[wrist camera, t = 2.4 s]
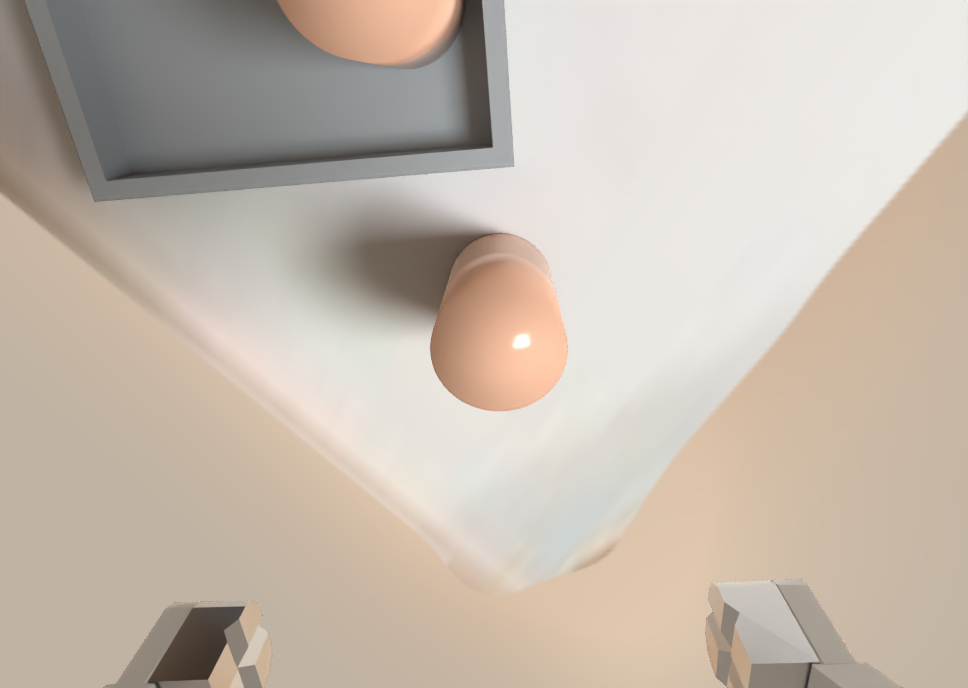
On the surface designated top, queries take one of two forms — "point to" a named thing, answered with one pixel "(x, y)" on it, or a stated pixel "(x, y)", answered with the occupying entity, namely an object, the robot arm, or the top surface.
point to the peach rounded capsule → (499, 326)
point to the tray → (262, 98)
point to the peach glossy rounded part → (379, 28)
